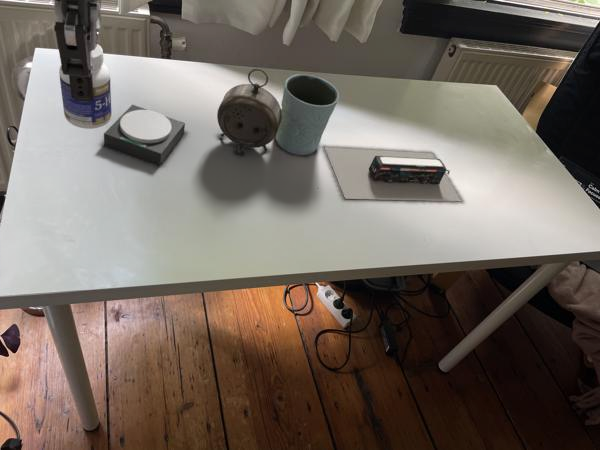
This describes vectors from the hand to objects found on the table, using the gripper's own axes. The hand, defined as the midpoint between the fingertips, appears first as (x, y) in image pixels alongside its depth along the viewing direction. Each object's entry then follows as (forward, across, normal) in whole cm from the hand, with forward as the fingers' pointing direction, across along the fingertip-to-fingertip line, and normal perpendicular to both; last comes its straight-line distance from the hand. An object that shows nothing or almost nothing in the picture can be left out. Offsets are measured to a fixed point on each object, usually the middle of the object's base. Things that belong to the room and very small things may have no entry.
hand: (85, 84), depth 56 cm
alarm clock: (+23, +19, -23) cm, 38 cm away
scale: (+22, +19, -6) cm, 30 cm away
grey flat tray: (+23, +14, -53) cm, 60 cm away
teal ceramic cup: (+23, +22, -34) cm, 47 cm away
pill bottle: (+5, 0, 0) cm, 5 cm away
